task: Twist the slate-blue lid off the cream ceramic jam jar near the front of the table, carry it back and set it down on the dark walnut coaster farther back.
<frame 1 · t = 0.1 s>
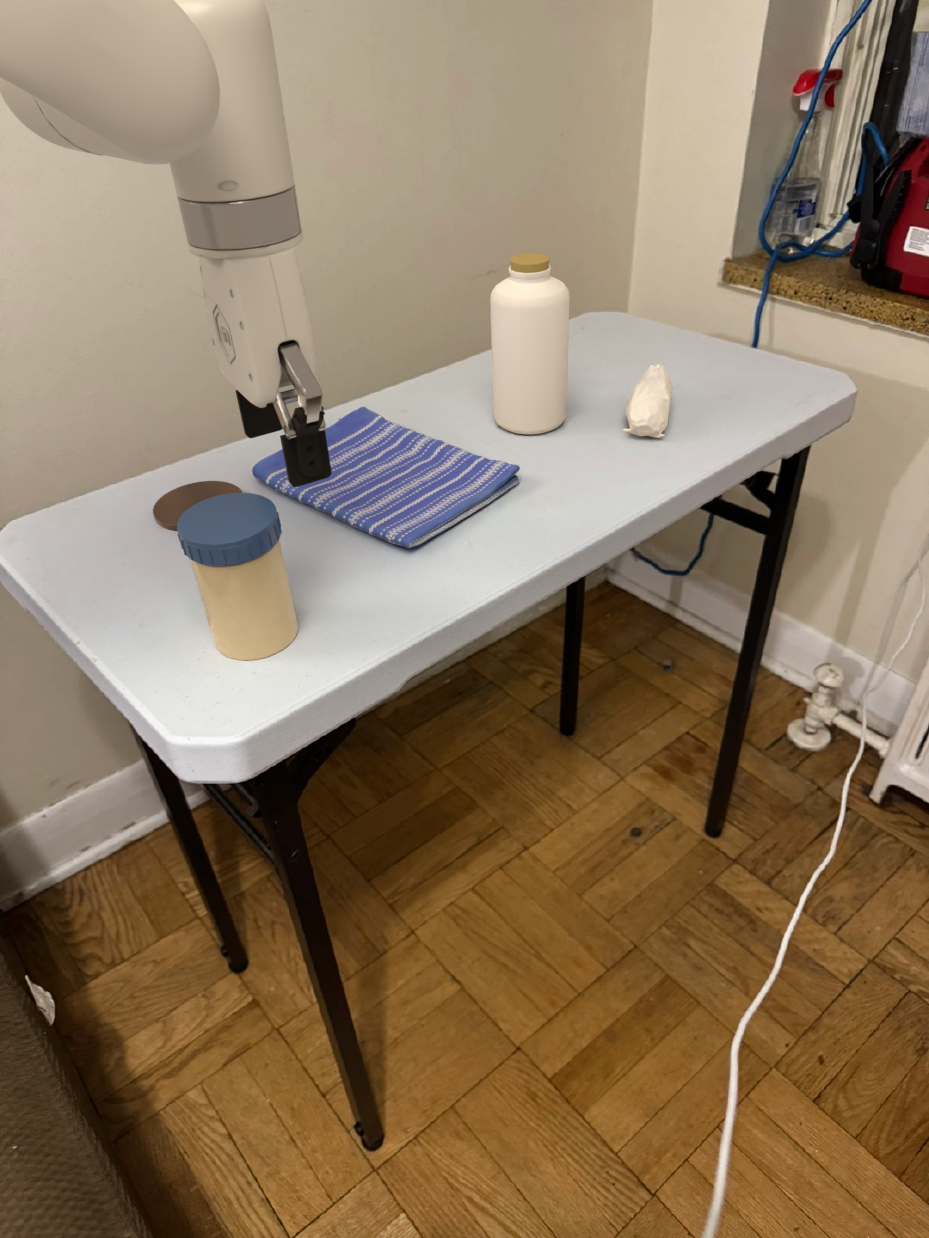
hand: (286, 455, 67), 13 cm above the table, tool pointing down, fingers open, 9 cm apart
lid: (228, 521, 64), point 11 cm above the table, screwed on, not yet turned
jar: (256, 633, 71), on the table
bird figurine: (650, 425, 97), on the table
dish towel: (384, 484, 90), on the table
coaster: (199, 507, 88), on the table
potion bottle: (530, 423, 99), on the table
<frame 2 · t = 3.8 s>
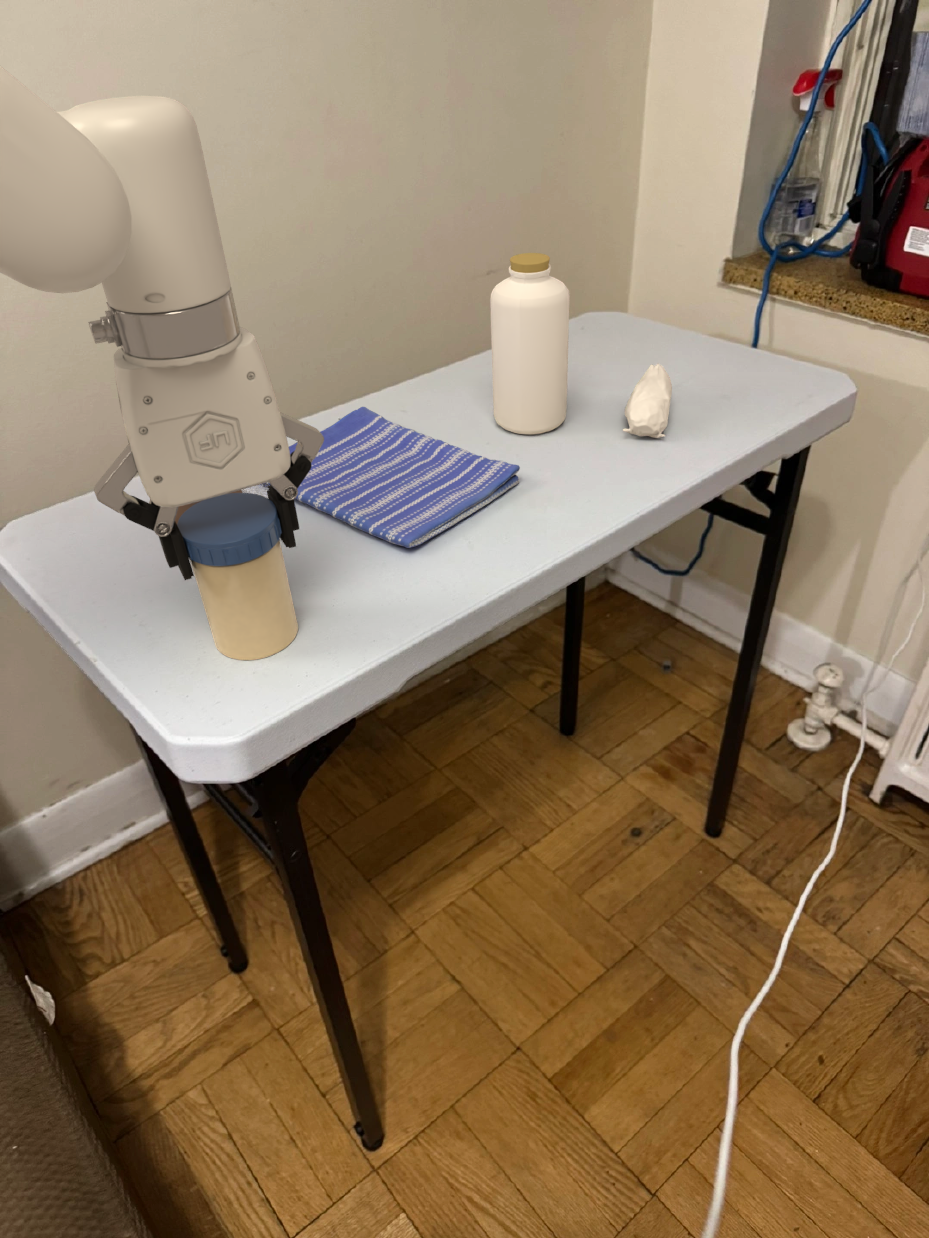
hand: (236, 553, 66), 8 cm above the table, tool pointing down, fingers closed on lid, 7 cm apart
lid: (228, 521, 64), point 11 cm above the table, screwed on, not yet turned, touching gripper
everything else where it was.
when the fingers open (7 cm above the table, at t = 6.5 s): lid stays where it is, point 11 cm above the table.
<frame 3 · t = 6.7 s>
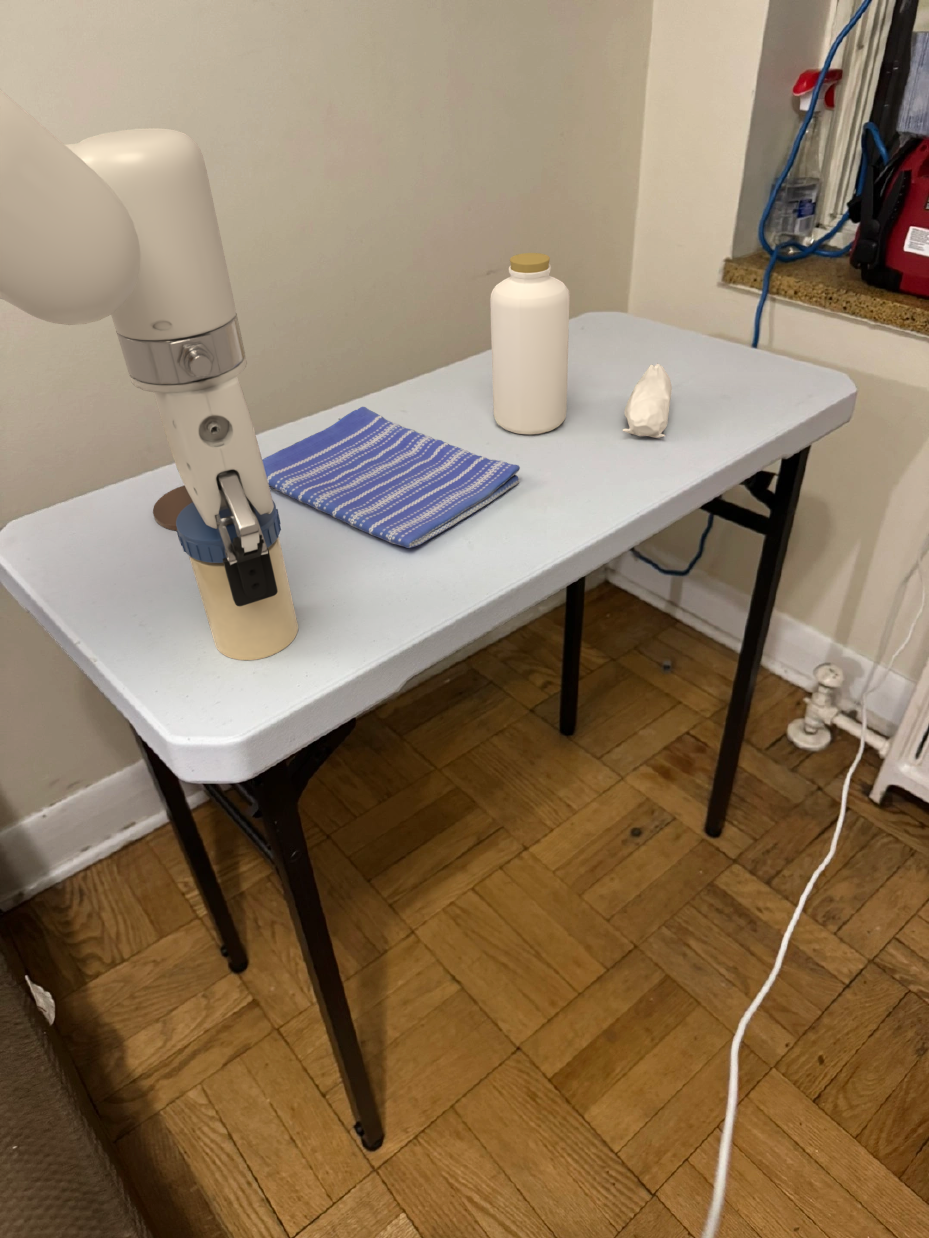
hand: (239, 568, 67), 7 cm above the table, tool pointing down, fingers open, 8 cm apart
lid: (227, 518, 64), point 11 cm above the table, turned 90° so far, risen 0.3 cm, still on its thread
everything else where it was.
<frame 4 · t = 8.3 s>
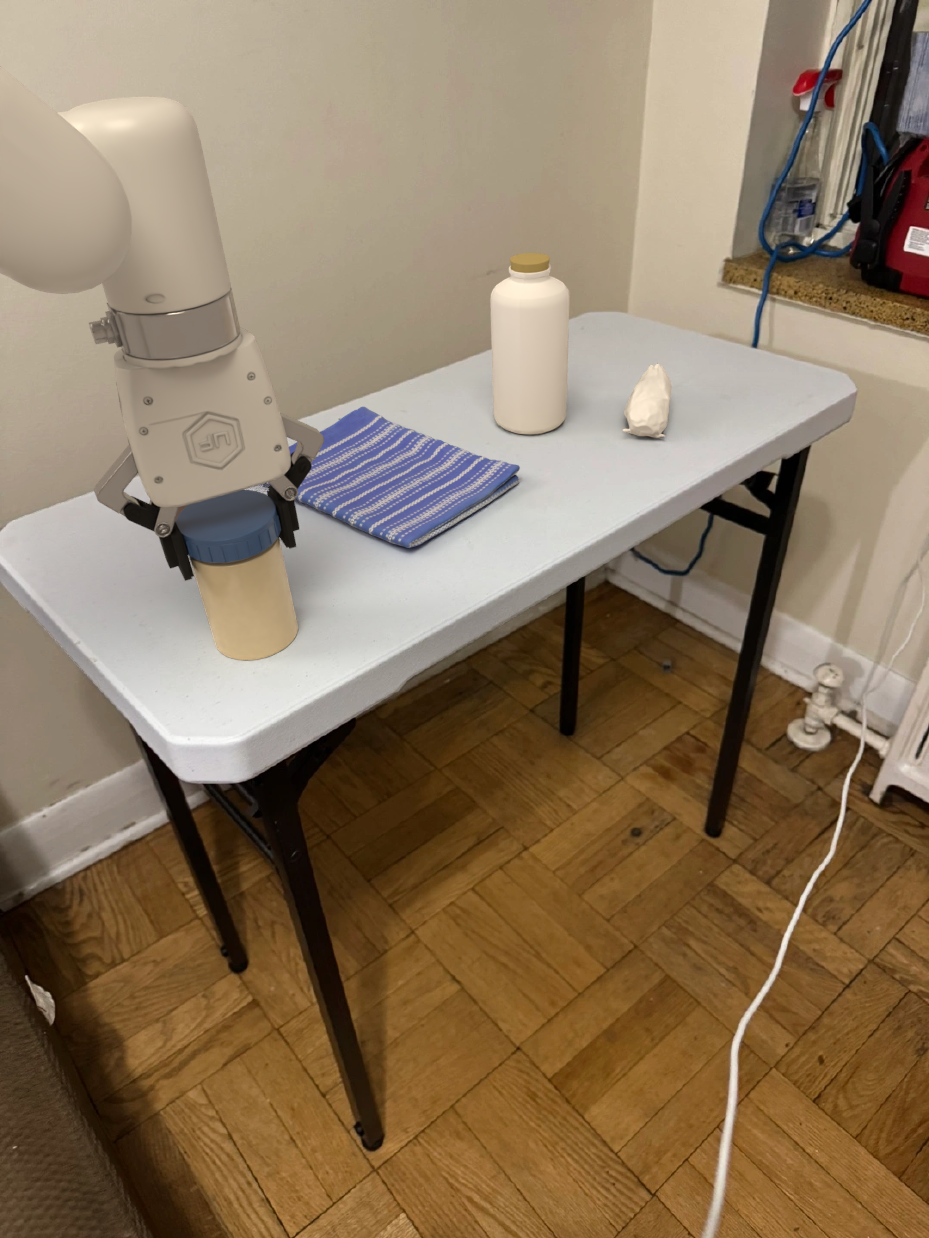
hand: (236, 553, 66), 8 cm above the table, tool pointing down, fingers closed on lid, 7 cm apart
lid: (227, 518, 64), point 11 cm above the table, turned 90° so far, risen 0.3 cm, still on its thread, touching gripper
everything else where it was.
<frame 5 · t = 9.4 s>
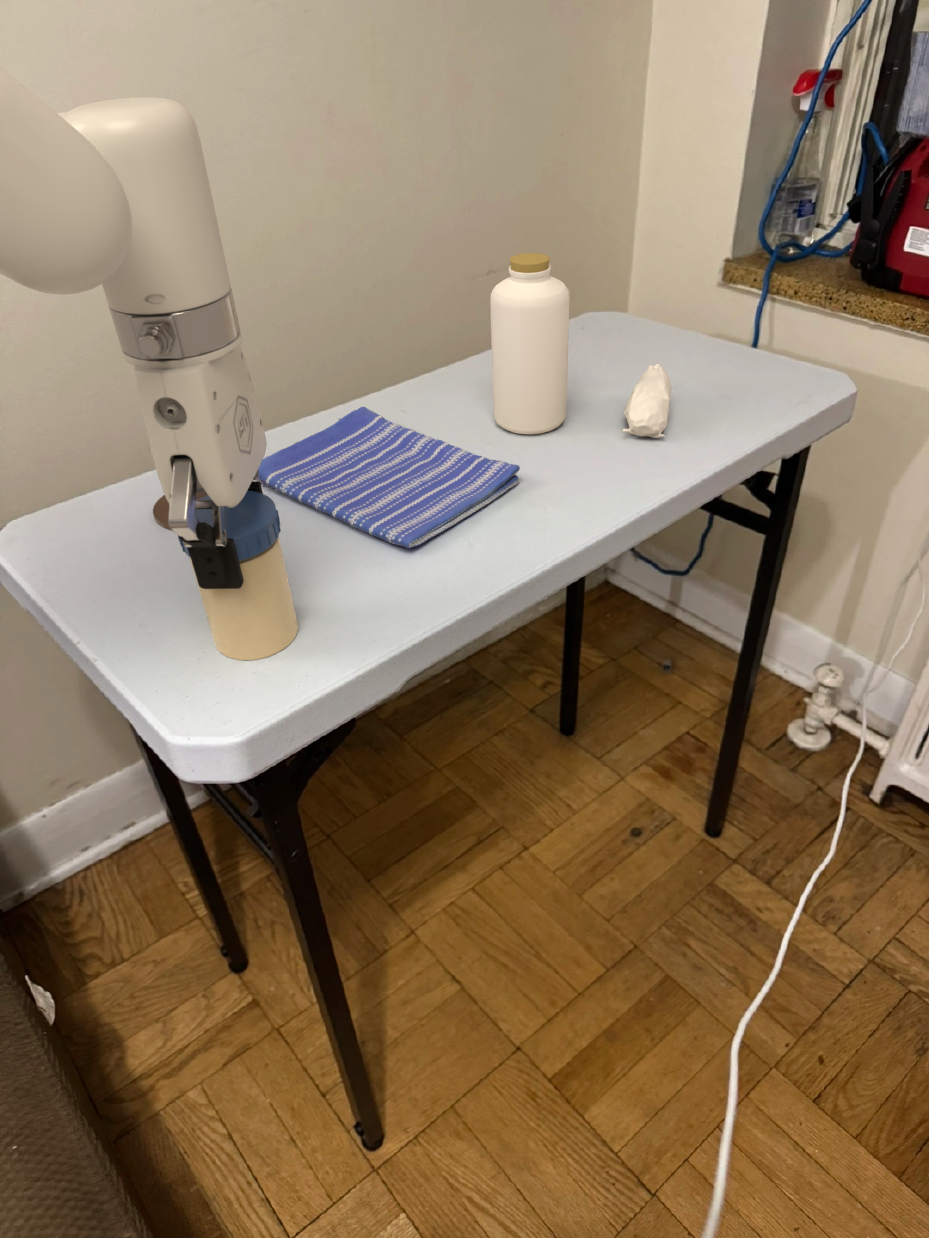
hand: (236, 554, 66), 8 cm above the table, tool pointing down, fingers closed on lid, 7 cm apart
lid: (227, 519, 64), point 11 cm above the table, off its thread, touching gripper
everything else where it was.
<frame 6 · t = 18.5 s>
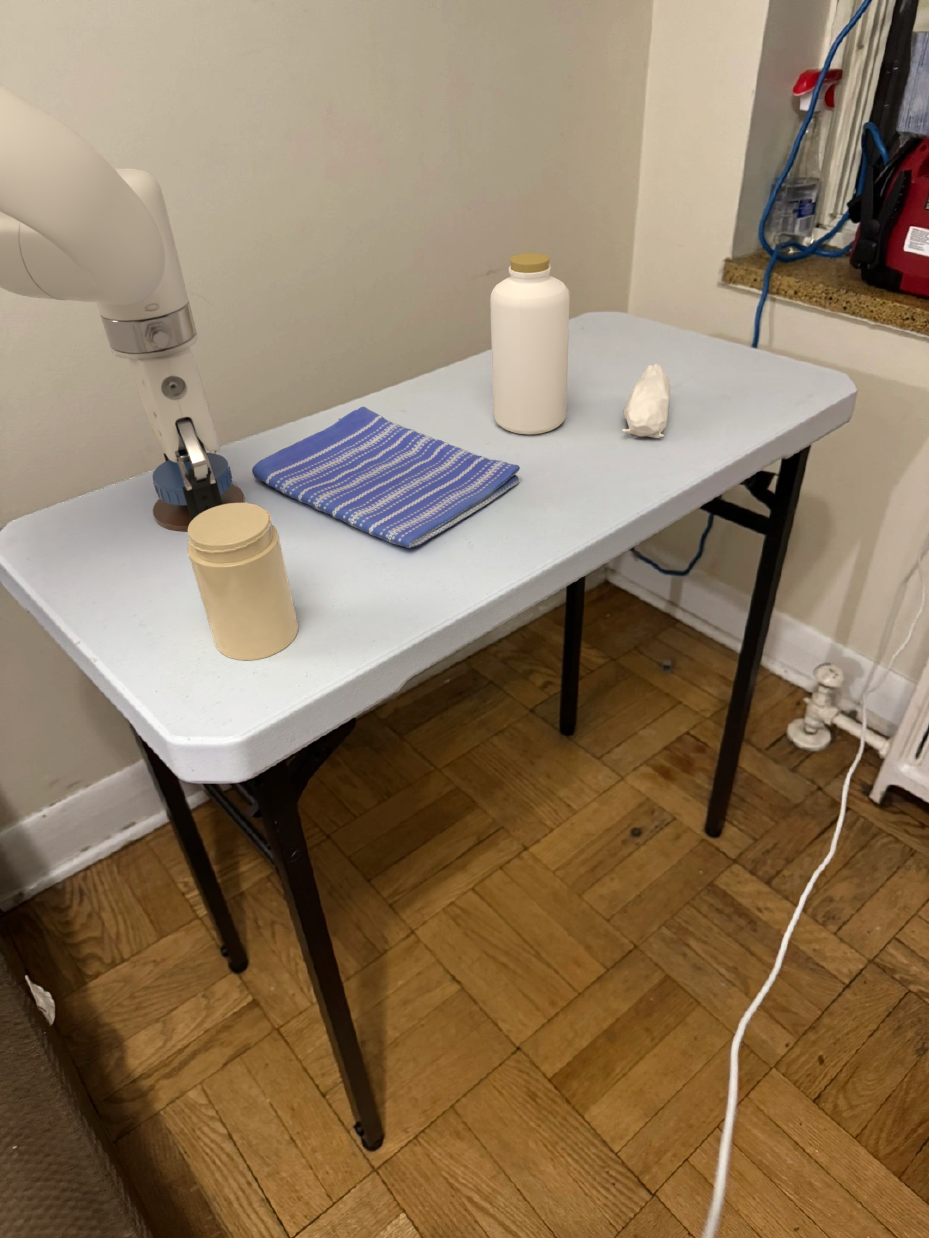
hand: (198, 500, 87), 1 cm above the table, tool pointing down, fingers closed on lid, 7 cm apart
lid: (191, 473, 85), point 4 cm above the table, off its thread, touching gripper
everything else where it was.
when the fingers open (2 cm above the table, at t = 29.2 s): lid drops 3 cm, resting on coaster.
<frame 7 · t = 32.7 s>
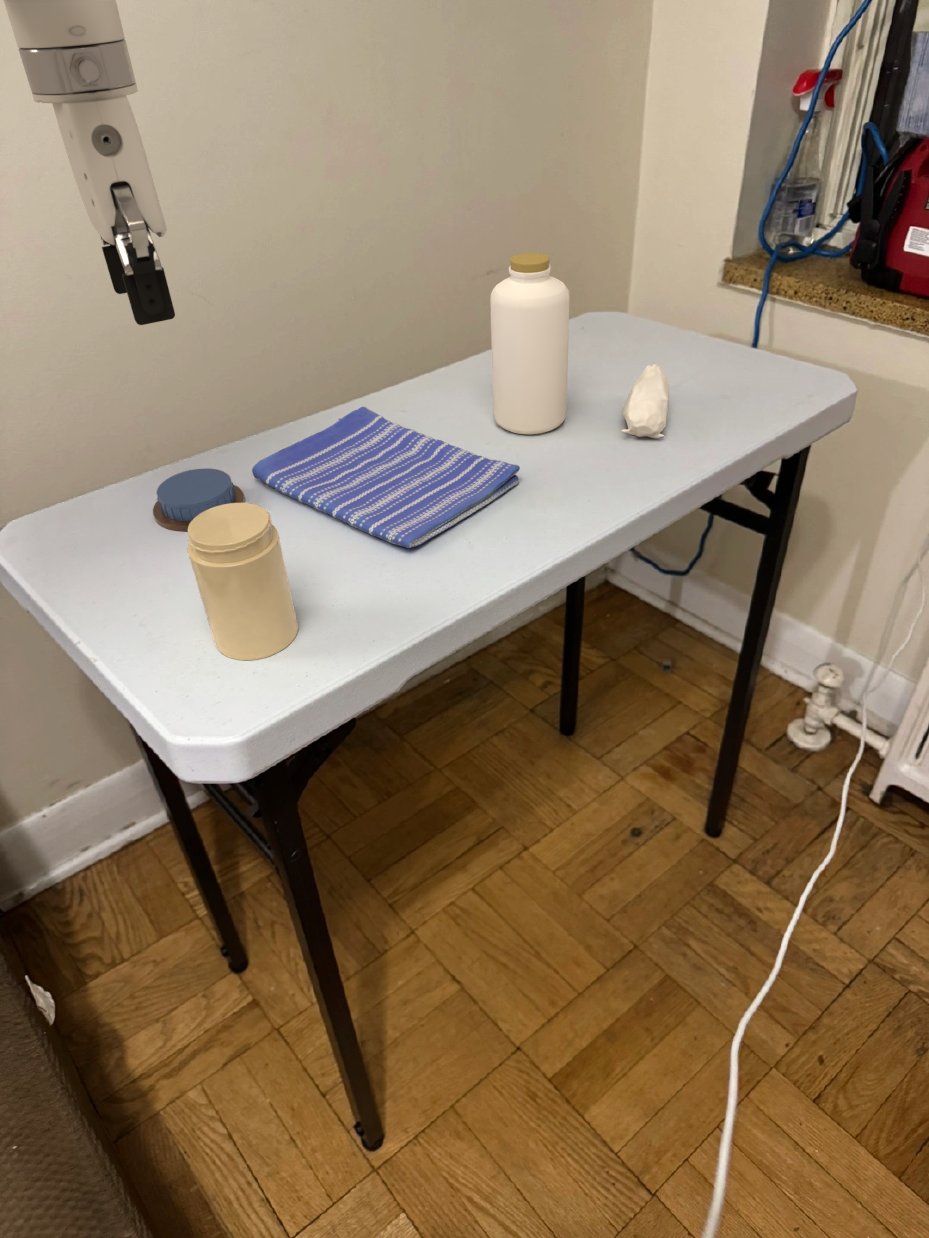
hand: (144, 305, 75), 20 cm above the table, tool pointing down, fingers open, 9 cm apart
lid: (195, 489, 86), point 2 cm above the table, off its thread, touching coaster
everything else where it was.
at the end: lid came off its thread; lid inside the target area on the coaster (0.0 cm from its centre), point 2.1 cm above the coaster's base; the gripper is holding nothing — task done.
